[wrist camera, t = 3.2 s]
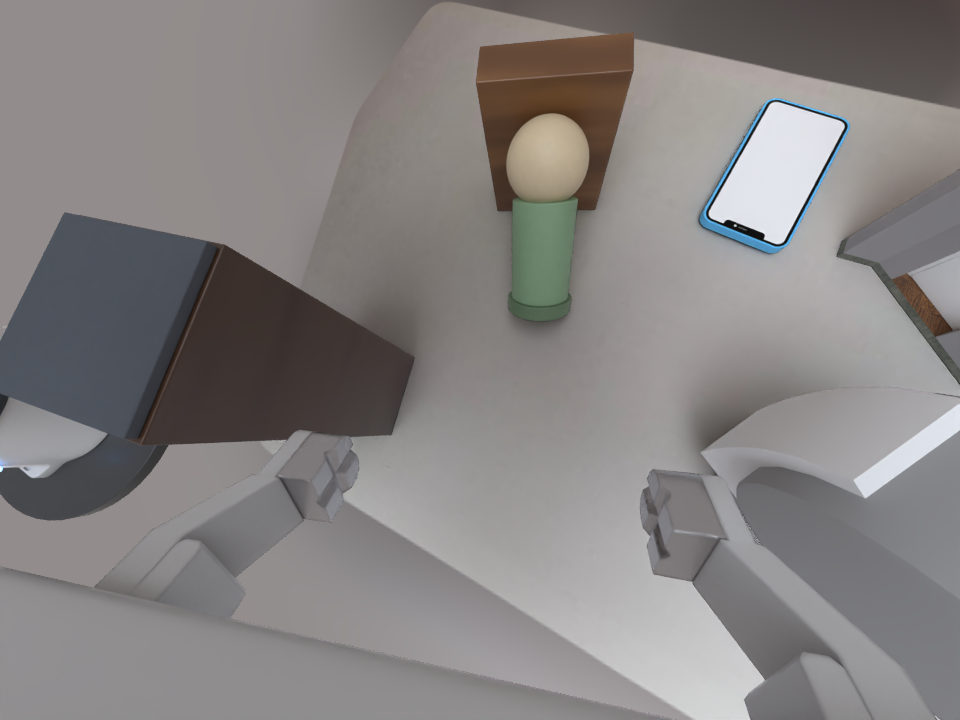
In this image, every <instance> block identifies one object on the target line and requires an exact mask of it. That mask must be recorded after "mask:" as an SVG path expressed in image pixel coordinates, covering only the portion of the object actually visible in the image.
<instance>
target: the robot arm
mask: <svg viewBox="0 0 960 720" xmlns="http://www.w3.org/2000/svg"><path fill="white" fill-rule="evenodd" d="M7 326H8V325H5V326H4V327H0V340H1V338H2V336H3V334H4V332H5V330H6V328H7ZM107 434H108V433H105V432H102V431H100V430H97V429H94V428H92V427H89V426H86V425H83V424H81V423H78V422H75V421H73V420H70V419H67V418H65V417H62V416H59V415H56V414H54V413H51V412H48V411H46V410H43V409H40V408H38V407H35V406H32V405H29V404H27V403H24V402H21V401H19V400H16V399H13V398H11V397H8V396H5V395H2V394H0V472H1V471H2V468H12V467H19V468H20V469H21V470H22V471H24V472H25V473H26V474H27V475H28V476H30V477H32V478H46V477H48V476H50V475H51V474H53V473H54V472H55V471H56V470H57V469H58V468H60V467H61V466H62V465H63V464H64V463H66V462H68V461H70V460H73V459H76V458H78V457H81V456H83V455H85V454H86V453H88V452H90V451H91V450H92V449H94V448H95V447H96V446H97V445H98V444H99V443H100V442H101V441H102V440H103V439H104V438H105V437H106V436H107ZM352 445H353V443H352V441H351V439H350V437H349V436H344V435H337V434H330V433H323V432H315V431H307V430H298V431H296V432H294V433H293V434H292V435H291V436H290V437H289V439H288V440H287V441H286V442H285V443H284V444H283V446H282V447H281V448H280V449H279V450H278V451H277V453H276V454H275V455H274V456H273V457H272V458H271V459H270V461H269V462H268V463H267V464H266V465H265V466H264V468H263V469H262V470H261V471H260V472H259V473H258V474H252V475H250V476H248V477H246V478H245V479H243V480H241V481H239V482H237V483H235V484H234V485H232V486H230V487H228V488H227V489H225V490H223V491H221V492H219V493H218V494H216V495H214V496H212V497H210V498H208V499H207V500H205V501H203V502H201V503H199V504H198V505H196V506H194V507H192V508H190V509H188V510H187V511H185V512H183V513H181V514H179V515H178V516H176V517H174V518H172V519H170V520H169V521H167V522H165V523H163V524H162V525H160V526H158V527H156V528H154V529H152V530H151V531H150V532H149V533H148V534H147V535H146V536H145V537H144V538H143V539H142V540H141V541H140V542H139V543H138V544H137V545H136V546H135V547H134V548H133V549H132V550H131V551H130V552H129V553H128V554H127V555H126V556H125V557H124V558H123V559H122V560H121V561H120V562H119V563H118V564H117V565H116V566H115V567H114V568H113V569H112V570H111V571H110V572H109V573H108V574H107V575H106V576H105V577H104V578H103V579H102V580H101V581H100V582H99V583H98V584H97V585H96V586H95V587H94V588H93V587H88V586H84V585H80V584H75V583H71V582H66V581H62V580H58V579H53V578H48V577H44V576H40V575H35V574H31V573H27V572H22V571H17V570H13V569H9V568H4V567H0V720H676V719H671V718H667V717H663V716H658V715H654V714H650V713H645V712H641V711H636V710H632V709H627V708H623V707H619V706H614V705H610V704H605V703H601V702H597V701H592V700H588V699H583V698H579V697H574V696H570V695H565V694H561V693H556V692H552V691H548V690H544V689H539V688H535V687H530V686H526V685H521V684H517V683H513V682H508V681H504V680H499V679H495V678H490V677H486V676H481V675H477V674H472V673H468V672H464V671H459V670H455V669H451V668H446V667H442V666H437V665H433V664H429V663H424V662H420V661H415V660H411V659H406V658H402V657H398V656H393V655H389V654H384V653H380V652H375V651H371V650H366V649H362V648H358V647H354V646H349V645H345V644H340V643H336V642H331V641H327V640H323V639H318V638H314V637H309V636H305V635H300V634H296V633H292V632H287V631H283V630H278V629H273V628H270V627H265V626H260V625H256V624H251V623H247V622H243V621H239V620H234V619H230V618H231V616H232V615H233V613H234V612H235V610H236V609H237V607H238V606H239V604H240V602H241V601H242V599H243V598H244V596H245V588H244V587H243V586H242V585H241V584H240V583H239V582H238V581H237V580H236V578H235V577H236V576H238V575H239V574H240V573H241V572H242V571H244V570H245V569H246V568H247V567H249V566H250V565H251V564H252V563H253V562H255V561H256V560H257V559H258V558H259V557H261V556H262V555H263V554H264V553H266V552H267V551H268V550H269V549H270V548H272V547H273V546H274V545H275V544H276V543H278V542H279V541H280V540H281V539H283V538H284V537H285V536H286V535H287V534H288V533H290V532H291V531H292V530H293V529H295V528H296V527H297V526H298V525H300V524H301V523H302V522H303V521H304V520H303V519H307V520H315V521H323V522H330V523H332V521H333V520H334V518H335V516H336V514H337V512H338V511H339V509H340V507H341V506H342V504H343V502H344V497H343V493H344V492H346V491H347V490H349V489H350V488H352V486H353V484H354V482H355V481H356V479H357V475H358V471H359V460H358V457H357V455H356V454H355V453H354V452H353V451H352V450H350V449H351V447H352ZM647 480H648V484H649V487H647V488H645V489H644V490H643V492H642V495H641V499H640V515H641V521H642V526H643V529H644V530H645V531H646V532H647V533H648V534H649V535H650V539H649V541H648V544H647V549H648V554H649V558H650V563H651V567H652V571H653V574H654V575H660V576H665V577H670V578H676V579H681V580H686V581H692V582H693V583H692V584H693V585H694V587H695V588H696V589H697V591H698V592H699V593H700V594H701V596H702V597H703V598H704V600H705V601H706V602H707V604H708V605H709V606H710V608H711V609H712V610H713V612H714V613H715V614H716V616H717V617H718V618H719V620H720V621H721V622H722V624H723V625H724V626H725V627H726V629H727V630H728V631H729V633H730V634H731V635H732V637H733V638H734V639H735V641H736V642H737V643H738V645H739V646H740V647H741V649H742V650H743V651H744V653H745V654H746V655H747V657H748V658H749V659H750V660H751V662H752V663H753V664H754V666H755V667H756V668H757V670H758V671H759V672H760V674H761V675H762V676H763V678H764V679H765V681H764V682H762V683H761V684H760V685H759V686H757V687H756V688H755V689H753V690H752V691H751V692H749V693H748V695H747V696H746V697H745V699H744V701H745V704H746V707H747V710H748V713H749V716H750V719H751V720H937V719H936V717H935V715H934V714H933V712H932V711H931V709H930V708H929V706H928V705H927V703H926V701H925V700H924V698H923V697H922V695H921V694H920V692H919V691H918V689H917V687H916V686H915V684H914V683H913V681H912V680H911V678H910V677H909V675H908V674H907V672H906V670H905V669H904V668H903V667H902V666H901V665H900V664H899V663H897V662H896V661H895V660H894V659H893V658H892V657H891V656H889V655H888V654H887V653H886V652H885V651H884V650H883V649H882V648H880V647H879V646H878V645H877V644H876V643H875V642H874V641H872V640H871V639H870V638H869V637H868V636H867V635H866V634H864V633H863V632H862V631H861V630H860V629H859V628H858V627H856V626H855V625H854V624H853V623H852V622H851V621H850V620H849V619H847V618H846V617H845V616H844V615H843V614H842V613H841V612H839V611H838V610H837V609H836V608H835V607H834V606H833V605H831V604H830V603H829V602H828V601H827V600H826V599H825V598H823V597H822V596H821V595H820V594H819V593H818V592H817V591H815V590H814V589H813V588H812V587H811V586H810V585H809V584H808V583H806V582H805V581H804V580H803V579H802V578H801V577H800V576H798V575H797V574H796V573H795V572H794V571H793V570H792V569H790V568H789V567H788V566H787V565H786V564H785V563H784V562H782V561H781V560H780V559H779V558H778V557H777V556H776V555H774V554H773V553H772V552H771V551H770V550H769V549H768V548H767V547H765V546H764V545H759V544H756V542H755V540H754V538H753V536H752V534H751V532H750V530H749V528H748V526H747V524H746V522H745V520H744V518H743V516H742V514H741V512H740V510H739V508H738V506H737V504H736V502H735V500H734V498H733V496H732V494H731V492H730V489H729V487H728V485H727V483H726V481H725V480H724V479H723V478H722V477H721V476H712V475H703V474H695V473H687V472H677V471H666V470H656V469H652V470H651V471H650V472H649V475H648V477H647Z"/></svg>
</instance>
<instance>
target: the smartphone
mask: <svg viewBox="0 0 960 720" xmlns="http://www.w3.org/2000/svg"><path fill="white" fill-rule="evenodd" d="M849 129H850V124H849V122H848V121H847V120H846V119H844V118H842V117H839V116H836V115H832V114H829V113H826V112H822V111H819V110H816V109H812V108H809V107H806V106H802V105H799V104H796V103H792V102H789V101H786V100H783V99H778V98H775V99H771V100H768V101H767V102H766V103H765V104H764V106H763V107H762V109H761V110H760V112H759V113H758V115H757V117H756V119H755V120H754V122H753V124H752V126H751V127H750V129H749V131H748V133H747V134H746V136H745V138H744V140H743V141H742V143H741V145H740V147H739V148H738V150H737V152H736V154H735V155H734V157H733V159H732V161H731V162H730V164H729V166H728V168H727V169H726V171H725V173H724V175H723V176H722V178H721V180H720V182H719V183H718V185H717V187H716V189H715V190H714V192H713V194H712V196H711V197H710V199H709V201H708V203H707V204H706V206H705V208H704V210H703V211H702V213H701V215H700V223H701V224H702V225H703V226H704V227H705V228H708V229H710V230H713V231H715V232H718V233H720V234H723V235H725V236H727V237H730V238H732V239H735V240H737V241H740V242H742V243H745V244H747V245H750V246H752V247H755V248H757V249H760V250H762V251H764V252H767V253H776V252H779V251H780V250H781V249H783V248H784V247H785V246H787V245H788V244H789V243H790V241H791V239H792V237H793V235H794V233H795V231H796V229H797V227H798V226H799V224H800V222H801V220H802V218H803V216H804V214H805V212H806V210H807V209H808V207H809V205H810V203H811V201H812V199H813V197H814V195H815V193H816V192H817V190H818V188H819V186H820V184H821V182H822V180H823V178H824V176H825V175H826V173H827V171H828V169H829V167H830V165H831V163H832V161H833V159H834V158H835V156H836V154H837V152H838V150H839V148H840V146H841V144H842V142H843V140H844V139H845V137H846V135H847V133H848V131H849Z"/></svg>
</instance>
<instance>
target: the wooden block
mask: <svg viewBox="0 0 960 720" xmlns="http://www.w3.org/2000/svg"><path fill="white" fill-rule="evenodd" d="M633 67H634V33H633V32H631V33H620V34H609V35H599V36H588V37H578V38H567V39H556V40H546V41H535V42H525V43H514V44H503V45H493V46H482V47H480V51H479V60H478V69H477V78H476V86H477V92H478V98H479V104H480V110H481V115H482V121H483V127H484V133H485V139H486V145H487V151H488V157H489V163H490V168H491V174H492V180H493V186H494V192H495V198H496V204H497V210H498V211H513V199H515V198H517V197H518V196H517V195H516V193H515V192H514V190H513V189H512V187H511V185H510V183H509V180H508V176H507V169H506V160H507V154H508V150H509V147H510V144H511V142H512V140H513V138H514V136H515V135H516V133H517V132H518V131H519V129H520V128H521V127H522V126H523V125H524V124H525V123H527V122H528V121H529V120H531V119H533V118H534V117H537V116H539V115H543V114H549V113H555V114H561V115H564V116H566V117H568V118H570V119H572V120H573V121H574V122H576V123H577V124H578V126H579V127H580V128H581V129H582V131H583V133H584V134H585V136H586V139H587V142H588V147H589V166H588V170H587V173H586V176H585V178H584V180H583V183H582V184H581V186H580V187H579V189H578V190H577V191H576V192H575V193H574V194H573V195H572V196H574V197H577V198H578V204H577V210H594V209H595V208H596V205H597V201H598V197H599V194H600V190H601V186H602V183H603V179H604V176H605V172H606V168H607V165H608V161H609V157H610V154H611V150H612V147H613V143H614V139H615V136H616V132H617V128H618V125H619V121H620V118H621V114H622V110H623V107H624V103H625V99H626V96H627V92H628V88H629V85H630V81H631V78H632V74H633Z"/></svg>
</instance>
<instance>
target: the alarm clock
mask: <svg viewBox="0 0 960 720" xmlns="http://www.w3.org/2000/svg"><path fill="white" fill-rule="evenodd" d="M700 453H701V454H702V455H703V456H704V458H705V459H706V460H707V462H708V463H709V464H710V466H711V467H712V468H713V469H714V471H715V472H716V473H717V475H716V476H721V477H722V478H723V479H724V480H725V481H726V483H727V485H728V487H729V489H730V492H731V494H732V496H733V498H734V500H735V502H736V504H737V505H738V507H739V508H740V509H741V512H742V514H743V516H744V518H745V520H746V521H747V523H748V524H749V526H750V527H751V529H752V530H753V532H754V533H755V535H756V536H757V538H758V539H759V541H760V542H761V544H762V545H764V546H765V547H767V548H768V549H769V550H770V551H771V552H772V553H773V554H774V555H776V556H777V557H778V558H779V559H780V560H781V561H782V562H784V563H785V564H786V565H787V566H788V567H789V568H790V569H792V570H793V571H794V572H795V573H796V574H797V575H798V576H800V577H801V578H802V579H803V580H804V581H805V582H806V583H808V584H809V585H810V586H811V587H812V588H813V589H814V590H815V591H817V592H818V593H819V594H820V595H821V596H822V597H823V598H825V599H826V600H827V601H828V602H829V603H830V604H831V605H833V606H834V607H835V608H836V609H837V610H838V611H839V612H841V613H842V614H843V615H844V616H845V617H846V618H847V619H849V620H850V621H851V622H852V623H853V624H854V625H855V626H856V627H858V628H859V629H860V630H861V631H862V632H863V633H864V634H866V635H867V636H868V637H869V638H870V639H871V640H872V641H874V642H875V643H876V644H877V645H878V646H879V647H880V648H882V649H883V650H884V651H885V652H886V653H887V654H888V655H889V656H891V657H892V658H893V659H894V660H895V661H896V662H897V663H899V664H900V665H901V666H902V667H903V668H904V669H905V670H906V672H907V674H908V675H909V677H910V678H911V680H912V681H913V683H914V684H915V686H916V687H917V689H918V691H919V692H920V694H921V695H922V697H923V698H924V700H925V701H926V703H927V705H928V706H929V708H930V709H931V711H932V712H933V714H934V715H935V716H936V717H938V718H939V719H940V720H960V397H958V396H952V395H945V394H939V393H927V392H921V391H915V390H909V389H903V388H897V387H843V388H837V389H831V390H825V391H818V392H812V393H808V394H804V395H800V396H796V397H792V398H789V399H785V400H781V401H779V402H776V403H774V404H771V405H769V406H766V407H764V408H762V409H759V410H758V411H756V412H755V413H754V414H752V415H751V416H749V417H748V418H747V419H745V420H744V421H743V422H741V423H740V424H738V425H737V426H736V427H734V428H733V429H732V430H730V431H729V432H727V433H726V434H725V435H723V436H722V437H721V438H719V439H718V440H716V441H715V442H714V443H712V444H711V445H710V446H708V447H707V448H706V449H704V450H703V451H701V452H700Z"/></svg>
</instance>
